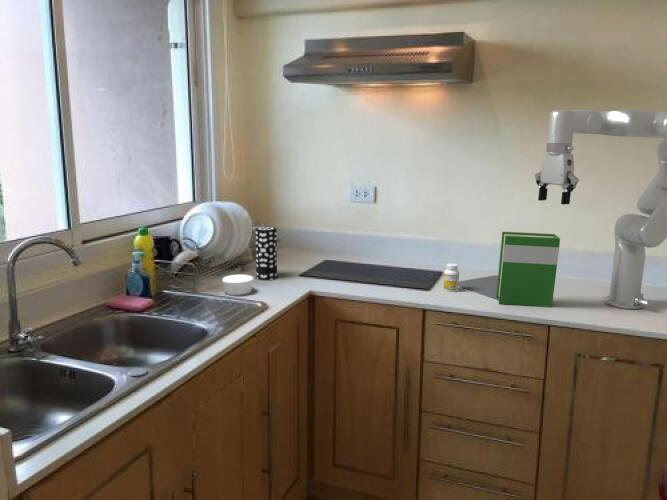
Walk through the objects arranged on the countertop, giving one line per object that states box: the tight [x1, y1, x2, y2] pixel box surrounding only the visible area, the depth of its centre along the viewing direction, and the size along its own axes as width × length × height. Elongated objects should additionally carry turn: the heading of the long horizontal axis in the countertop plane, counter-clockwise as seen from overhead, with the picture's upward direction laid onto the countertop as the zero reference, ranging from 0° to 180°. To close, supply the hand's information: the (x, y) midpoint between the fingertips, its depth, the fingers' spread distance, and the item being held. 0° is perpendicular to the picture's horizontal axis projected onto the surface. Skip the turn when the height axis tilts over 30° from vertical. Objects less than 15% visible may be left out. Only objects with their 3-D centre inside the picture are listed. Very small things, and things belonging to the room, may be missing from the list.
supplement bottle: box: [443, 263, 460, 292], centre depth 212 cm, size 5×5×10 cm
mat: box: [458, 274, 499, 301], centre depth 217 cm, size 26×24×1 cm
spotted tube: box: [254, 226, 278, 281], centre depth 225 cm, size 8×8×20 cm
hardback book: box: [496, 231, 561, 308], centre depth 196 cm, size 18×7×24 cm, turn 82°
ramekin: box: [221, 273, 255, 296], centre depth 207 cm, size 11×11×5 cm
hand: (553, 202), depth 186 cm, fingers open, 9 cm apart
